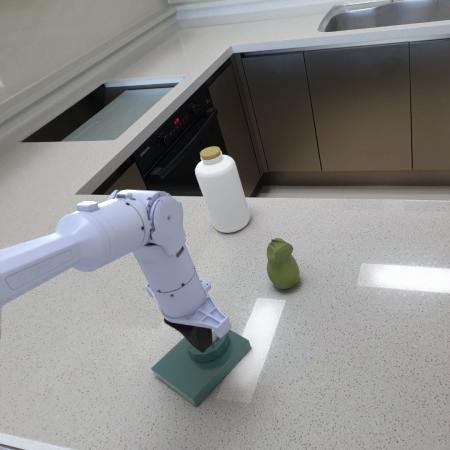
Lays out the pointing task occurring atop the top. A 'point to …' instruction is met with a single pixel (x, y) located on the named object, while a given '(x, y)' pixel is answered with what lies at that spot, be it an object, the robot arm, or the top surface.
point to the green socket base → (200, 365)
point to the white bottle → (222, 190)
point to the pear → (282, 264)
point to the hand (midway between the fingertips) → (204, 346)
